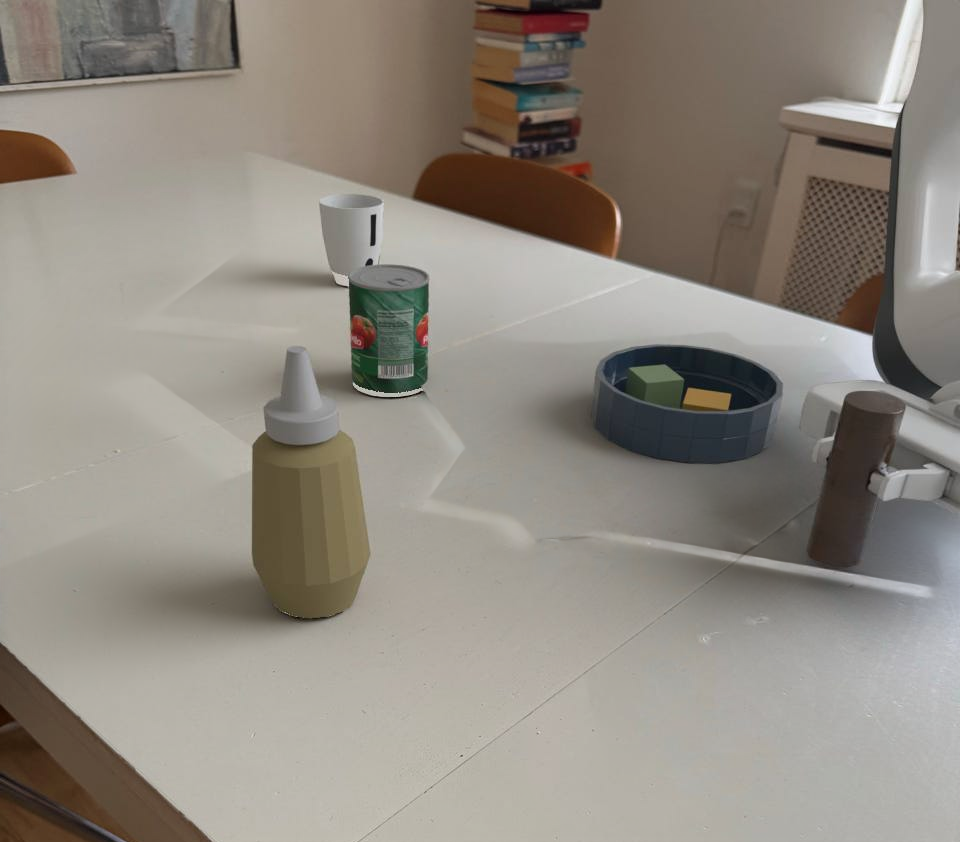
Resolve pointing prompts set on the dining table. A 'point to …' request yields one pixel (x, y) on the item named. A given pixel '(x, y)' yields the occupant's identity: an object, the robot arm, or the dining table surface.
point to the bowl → (682, 429)
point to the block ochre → (706, 400)
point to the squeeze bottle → (307, 500)
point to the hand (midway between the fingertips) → (848, 470)
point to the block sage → (655, 385)
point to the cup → (351, 230)
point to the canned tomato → (389, 327)
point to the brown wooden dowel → (853, 477)
